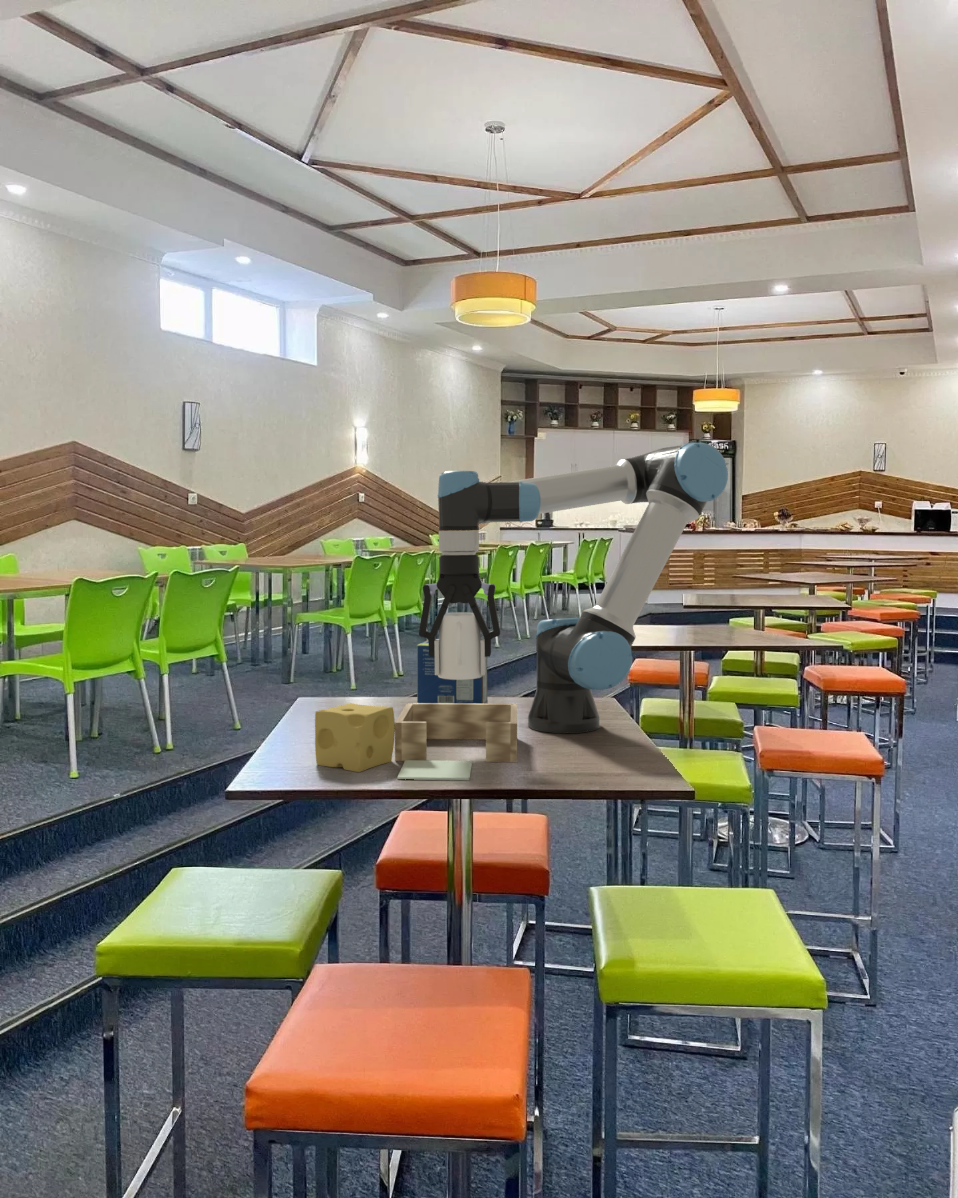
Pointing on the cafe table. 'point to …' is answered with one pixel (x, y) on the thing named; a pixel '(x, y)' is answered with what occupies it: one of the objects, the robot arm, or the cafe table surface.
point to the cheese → (354, 736)
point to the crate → (457, 728)
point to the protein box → (446, 683)
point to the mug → (459, 647)
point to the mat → (435, 770)
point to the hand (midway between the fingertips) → (460, 673)
